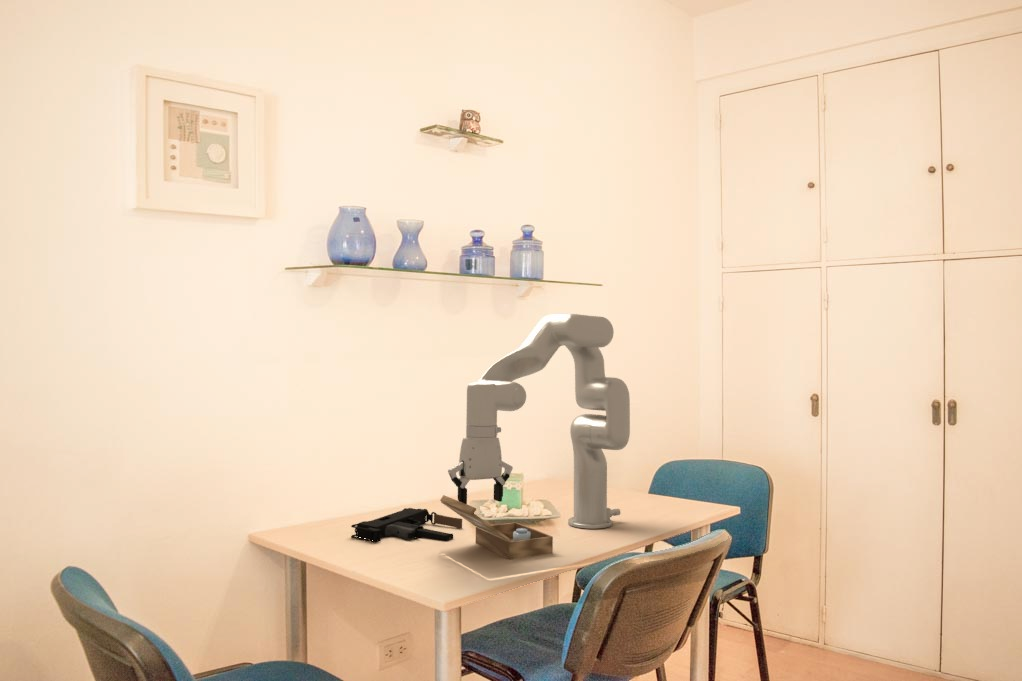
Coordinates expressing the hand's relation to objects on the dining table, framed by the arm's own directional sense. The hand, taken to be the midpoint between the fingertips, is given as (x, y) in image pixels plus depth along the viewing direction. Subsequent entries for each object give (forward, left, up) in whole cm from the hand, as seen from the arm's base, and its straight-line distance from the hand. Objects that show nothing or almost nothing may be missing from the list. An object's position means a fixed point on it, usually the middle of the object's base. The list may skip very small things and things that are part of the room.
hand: (480, 502), depth 193 cm
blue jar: (-12, 0, -12) cm, 17 cm away
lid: (+1, 0, -3) cm, 3 cm away
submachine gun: (+5, -28, -14) cm, 31 cm away
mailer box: (-9, 0, -13) cm, 16 cm away
